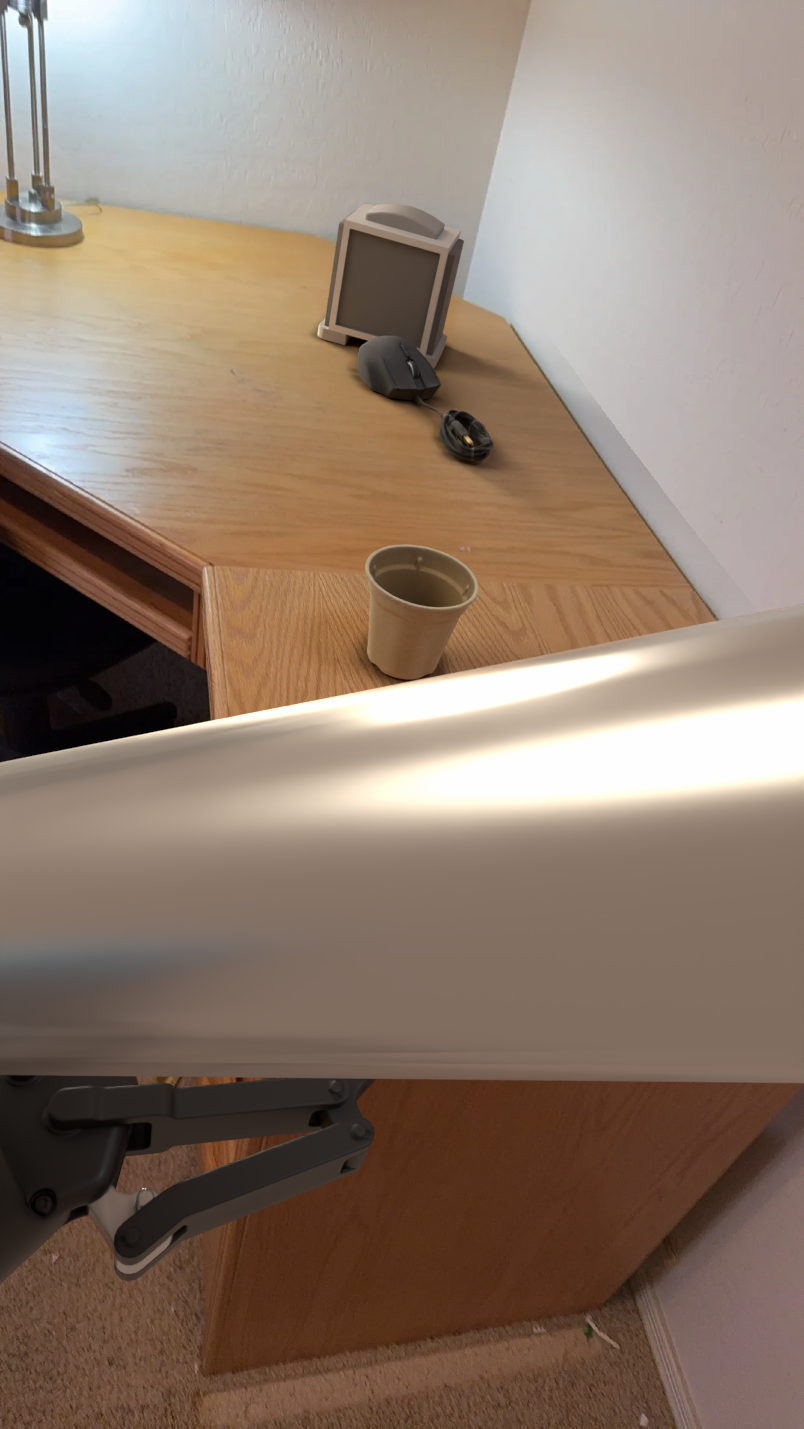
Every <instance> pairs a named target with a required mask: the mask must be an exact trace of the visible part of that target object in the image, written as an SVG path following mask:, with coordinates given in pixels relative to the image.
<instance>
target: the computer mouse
mask: <svg viewBox="0 0 804 1429" xmlns="http://www.w3.org/2000/svg"><path fill="white" fill-rule="evenodd" d="M356 369H357V372H358V375H359V377H360V379H361V380H362V382H364V384H365V385H366V386H367V387H368V388H369V389H370V390H372V391H373V392H376V393H379V394H381V395H384V396H386V397H387V398H389V399H397V400H404V401H415V402H416V404H418V405H419V406H423V407H425V408H426V409H429V410H431V411H432V412H435V413H437V414H438V415H439V417H440V418H441V421H440V423H439V424H440V425H439V429H438V437H439V439H440V441H441V442H442V444H443V445H444V446H445V447H446V450H447V451H448V452H449V454H450V455H452V456H453V457H454V458H456V459H461V460H463V461H467V462H468V461H469V462H480V461H483V460H485V459H487V458H488V457H489V455H490V451H491V449H492V448H494V442H493V440H492V438H491V436H490V434H489V431H488V429H487V428H486V426H485V424H483V422H480V421H479V420H478V419H477V418H476V417H475V416H474V415H472V414H470V413H469V412H467V411H463V410H458V409H457V410H456V409H449V410H448V411H446V413H444V414H443V413H442V412H441V411H440V410H438V409H437V408H436V407H435V406H432V405H429V404H427V403H425V402H424V400H427V399H430V398H432V397H434V396H435V395H436V393H437V392H438V390H440V387H441V386H442V384H441V381H440V379H439V376H438V374H437V372H436V370H435V368H433V367H432V366H431V364H430V363H429V362H428V361H427V359H426V358H425V357H424V356H423V355H422V353H421V352H420V351H419V350H418V349H417V348H416V347H415V346H414V345H413V344H412V343H411V342H410V341H408V340H406V339H404V338H401V337H398V336H379V337H376V338H373V339H371V340H369V341H368V340H366V342H364V343H363V344H361V345H360V347H358V352H357V366H356ZM471 437H472V438H471ZM472 439H473V440H474V441H475V442H476V443H479V445H478V446H475V445H474V441H473V440H472Z"/></svg>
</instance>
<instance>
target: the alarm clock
mask: <svg viewBox="0 0 804 1429" xmlns="http://www.w3.org/2000/svg"><path fill="white" fill-rule="evenodd" d="M461 233H462V229H459V228H455V227H451V226H448V225H445V223H444V222H442V221H441V220H440V219H439V218H437V217H435V215H432V214H430V213H428V212H426V211H425V210H422V209H420V208H417V207H415V206H411V205H407V204H406V205H405V204H399V203H382V204H376V205H374V204H369V203H367V202H365V203H363V204H362V205H361V206H359V207H358V208H357V209H355V210H353V212H351V213H350V214H348V215H347V216H346V217H345V218H344V219H342V220H341V221H340V222H338V229H337V236H336V243H335V250H334V257H333V263H332V270H331V277H330V283H329V291H328V298H327V304H326V309H325V310H326V311H325V317H324V318H323V319H322V320H321V321H320V322H319V324H318V328H317V337H318V338H320V339H321V340H325V341H329V342H331V343H335V344H339V345H343V346H346V344H347V343H348V342H349V340H350V339H351V338H352V337H354V338H357V339H361V340H364V341H369V340H371V339H373V338H376V337H379V336H398V337H401V338H404V339H406V340H408V341H410V342H411V343H412V344H413V345H414V346H415V347H416V348H417V349H418V350H419V351H420V352H421V353H422V355H423V356H424V357H425V358H426V359H427V361H428V362H429V363H430V364H431V366H432V367H433V369H435V368H436V366H437V363H438V362H439V360H440V358H441V355H442V354H443V352H444V350H445V348H446V344H447V339H448V335H447V334H445V333H444V330H445V327H446V326H445V325H446V320H447V317H448V313H449V308H450V304H451V299H452V295H453V290H454V287H455V286H454V285H455V282H456V279H457V278H456V277H457V273H458V269H459V265H460V260H461V256H462V252H463V247H464V244H465V240H463V239H462V238H460V236H461Z"/></svg>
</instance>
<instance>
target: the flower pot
mask: <svg viewBox="0 0 804 1429" xmlns="http://www.w3.org/2000/svg"><path fill="white" fill-rule="evenodd" d="M364 573H365V576H366V579H367V581H368V582H367V585H368V590H369V593H370V594H369V611H368V612H369V615H368V631H367V632H368V634H367V648H366V653H367V658H368V660H369V661H370V663H372V664H374V665H375V666H376V667H377V668H378V669H379V670H380V671H381V672H382V673H384V674H385V675H387V676H389V677H392V678H394V679H395V678H396V679H399V680H409V681H415V680H420V679H422V678H423V677H424V676H427V675H432V674H433V673H434V672H435V670H436V669H437V666H438V664H439V662H440V659H441V658H442V656H443V654H444V651H445V649H446V647H447V645H448V643H449V640H450V638H451V637H452V634H453V632H454V631H455V628H456V626H457V625H458V622H459V620H460V617H461V616H462V615H463V614H464V613H465V612H466V611H467V609H468V607H469V606H470V605H471V604H473V603H474V601H475V600H476V599H477V597H478V595H479V592H480V585H479V581H478V578H477V576H476V575H475V573H474V572H473V570H471V569H470V568H469V566H467V565H466V564H465V563H463V562H462V561H461V560H460V559H458V558H456V557H455V556H453V555H451V554H448V553H446V552H444V551H441V550H439V549H435V548H432V547H428V546H424V545H418V544H417V545H415V544H391V545H386V546H384V547H380V548H379V549H377V550H375V551H374V552H372V553H370V554H369V556H368V557H367V559H366V561H365V566H364Z"/></svg>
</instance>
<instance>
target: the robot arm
mask: <svg viewBox="0 0 804 1429" xmlns="http://www.w3.org/2000/svg"><path fill="white" fill-rule="evenodd" d="M137 1077H156V1078H157V1077H159V1078H160V1077H161V1078H162V1077H165V1078H178V1077H179V1078H257V1079H256V1080H243V1081H234V1082H222V1083H210V1084H201V1085H200V1084H199V1085H189V1086H175V1085H173V1084H171V1083H169V1082H153V1083H142V1084H139V1081H138V1078H137ZM258 1078H262V1079H258ZM263 1078H264V1079H263ZM265 1078H266V1079H265ZM380 1079H381V1080H453V1081H455V1080H456V1081H457V1080H459V1081H463V1080H465V1081H466V1080H467V1081H469V1080H470V1081H545V1082H546V1081H551V1082H552V1081H553V1082H554V1081H556V1082H557V1081H559V1082H560V1081H562V1082H569V1081H571V1082H642V1083H643V1082H644V1083H645V1082H648V1083H649V1082H650V1083H651V1082H654V1083H655V1082H657V1083H660V1082H661V1083H739V1084H740V1083H742V1084H743V1083H744V1084H745V1083H748V1084H749V1083H750V1084H751V1083H752V1084H763V1083H764V1084H804V603H799V604H795V605H790V606H784V607H779V608H774V609H769V610H765V611H759V612H754V613H749V614H745V615H740V616H734V617H729V618H724V619H719V620H714V621H708V622H703V623H699V624H694V625H693V624H692V625H688V626H683V627H678V628H673V629H668V630H663V631H658V632H652V633H648V634H642V635H637V636H632V637H627V638H623V639H617V640H613V641H607V642H602V643H598V644H593V645H587V646H582V647H577V648H572V649H568V650H567V649H566V650H561V651H556V652H551V653H547V654H542V655H536V656H531V657H527V658H521V659H516V660H512V661H507V662H501V663H496V664H491V665H485V666H482V667H481V666H480V667H476V668H471V669H465V670H461V671H456V672H450V673H445V674H440V675H436V676H430V677H425V678H419V679H415V680H409V681H406V682H401V683H395V684H390V685H385V686H381V687H380V686H379V687H375V688H370V689H365V690H359V691H355V692H350V693H344V694H340V695H336V696H335V695H334V696H329V697H325V698H319V699H315V700H314V699H313V700H310V701H309V700H308V701H304V702H299V703H294V704H289V705H284V706H279V707H274V708H269V709H268V708H267V709H263V710H258V711H254V712H248V713H243V714H238V715H233V716H229V717H222V718H218V719H213V720H208V721H203V722H197V723H193V724H188V725H184V726H178V727H173V728H167V729H163V730H157V731H153V732H148V733H143V734H137V735H132V736H127V737H122V738H117V739H112V740H108V741H102V742H97V743H92V744H87V745H82V746H81V745H80V746H77V747H76V746H75V747H72V748H65V749H61V750H57V751H52V752H47V753H46V752H45V753H41V754H36V755H32V756H26V757H21V758H16V759H11V760H6V761H1V762H0V1285H1V1284H2V1283H3V1282H4V1281H5V1280H6V1279H7V1278H8V1277H10V1276H11V1275H13V1273H14V1272H15V1271H16V1270H18V1269H19V1268H20V1266H22V1265H23V1264H24V1263H25V1262H26V1261H27V1260H28V1259H29V1258H30V1257H31V1256H33V1255H34V1254H35V1253H36V1252H37V1251H38V1250H39V1249H40V1248H41V1247H42V1246H43V1245H44V1244H45V1243H46V1242H47V1241H49V1239H51V1237H53V1235H54V1234H55V1233H56V1232H58V1231H59V1230H60V1229H61V1228H63V1227H65V1226H66V1225H67V1224H69V1223H71V1222H73V1221H75V1220H78V1219H80V1218H84V1217H89V1218H90V1219H91V1221H92V1222H93V1224H94V1226H95V1228H97V1229H96V1230H98V1232H99V1233H100V1235H101V1237H102V1238H103V1240H104V1241H105V1243H106V1244H107V1246H108V1247H109V1249H110V1251H111V1253H112V1254H113V1269H114V1272H115V1275H116V1276H117V1277H118V1278H119V1279H120V1280H122V1281H126V1282H131V1281H136V1280H137V1279H139V1278H141V1277H142V1276H143V1275H144V1274H146V1273H147V1272H148V1271H149V1270H151V1268H153V1267H154V1266H155V1265H156V1264H157V1263H159V1262H160V1261H161V1260H162V1259H163V1258H164V1257H166V1256H167V1255H168V1254H169V1253H170V1252H172V1250H174V1249H175V1248H176V1247H177V1246H178V1245H180V1244H181V1243H182V1242H185V1241H187V1240H189V1239H192V1238H194V1237H197V1236H199V1235H202V1234H204V1233H207V1232H209V1231H212V1230H214V1229H216V1228H219V1227H222V1226H225V1225H227V1224H229V1223H233V1222H235V1221H238V1220H239V1219H241V1218H245V1217H247V1216H249V1215H252V1214H254V1213H257V1212H259V1211H262V1210H265V1209H268V1208H270V1207H273V1206H274V1205H278V1204H279V1203H282V1202H284V1201H287V1200H289V1199H293V1198H294V1197H297V1196H299V1195H302V1194H305V1193H307V1192H309V1191H312V1190H316V1189H317V1188H320V1187H322V1186H325V1185H327V1184H330V1183H332V1182H335V1181H337V1180H339V1179H343V1178H345V1177H347V1176H350V1175H352V1174H355V1173H356V1172H358V1171H359V1170H360V1169H361V1167H362V1166H363V1164H364V1162H365V1159H366V1157H367V1155H368V1153H369V1150H370V1148H371V1145H372V1144H373V1142H374V1139H375V1127H374V1125H373V1123H372V1122H371V1121H370V1120H368V1119H367V1118H366V1117H363V1115H362V1113H361V1111H360V1109H359V1106H358V1102H357V1101H358V1100H359V1099H360V1098H361V1097H362V1096H363V1095H364V1093H365V1092H366V1091H367V1090H368V1089H369V1088H370V1087H371V1086H372V1085H373V1084H374V1082H375V1081H376V1080H380ZM300 1133H307V1134H305V1135H302V1136H299V1137H296V1138H294V1139H291V1140H288V1141H285V1142H283V1143H279V1144H277V1145H274V1146H272V1147H269V1148H266V1149H264V1150H261V1151H259V1152H256V1153H253V1154H250V1155H247V1156H245V1157H242V1158H239V1159H237V1160H233V1161H231V1162H228V1163H226V1164H223V1165H220V1166H217V1167H215V1168H212V1169H209V1170H206V1171H204V1172H201V1173H199V1174H196V1175H193V1176H190V1177H187V1178H185V1179H183V1180H181V1181H179V1182H176V1183H175V1184H173V1185H171V1186H169V1187H168V1188H166V1189H164V1190H163V1191H162V1192H158V1190H156V1189H155V1188H152V1187H142V1188H139V1189H137V1190H135V1191H133V1192H128V1193H127V1192H122V1191H119V1190H118V1189H117V1187H118V1184H119V1179H120V1176H121V1172H122V1169H123V1165H124V1161H125V1158H126V1157H135V1156H144V1155H145V1156H146V1155H152V1154H153V1155H154V1154H161V1153H164V1152H167V1151H168V1150H170V1149H171V1148H174V1147H178V1146H189V1145H199V1144H207V1143H217V1142H226V1141H236V1140H244V1139H254V1138H263V1137H272V1136H274V1137H275V1136H283V1135H293V1134H300Z"/></svg>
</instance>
